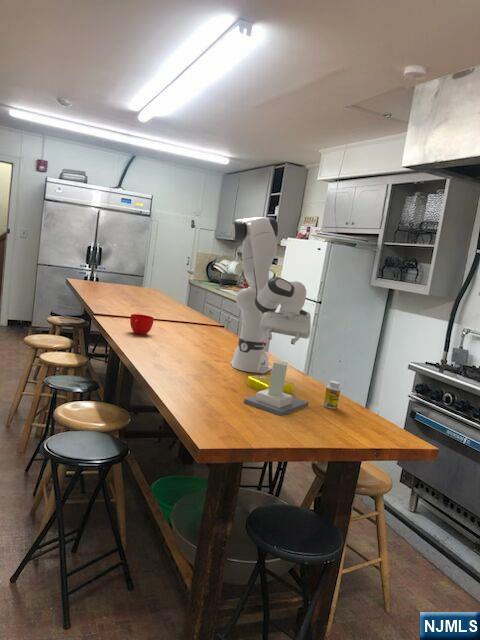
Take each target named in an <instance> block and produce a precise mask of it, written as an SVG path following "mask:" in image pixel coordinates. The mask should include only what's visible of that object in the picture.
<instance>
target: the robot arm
mask: <svg viewBox="0 0 480 640" xmlns="http://www.w3.org/2000/svg"><path fill="white" fill-rule="evenodd" d="M230 231H231V236H232V239H233V240H234V241H235V242H238V243H241V244H242V245H241V259H242V261H241V262H242V269H243V276H244V280H246V281H247V282H248V284H249V286H250V287H246V288H242V289H240V290H239V291H238V292H237V294H236V297H235V302H236V306H237V307H238V308H239V309H240V313H241V319H242V320H241V322H242V323H241V330H240V335H239V338H238V342H237V345H238V346H237V347H235V350H234V354H233V356H232V357H233V358H232V360H231V361H230V362H229V364H230V365H231V366H232V368H234V369H236V370H240V371H243V372H249V373H257V374H265V373H267V372H269V371H272V368H273V366H270V365H269V358H270V357H269V355H268V354H267V352H266V351H265V350H264V349H265V347H266V346H267V344H268V342H267V341H264V338H265V337H264V336H265V332H266V334H267V338H266V339H267V340H268V341H272V339H273V334H274V333H275V334H280V335H283V336H290V337H294V338H291V340H290V345H293V346H294V345H296V343H297V342H298V341H299V340H300V338H301V339H305V340H307V339H309V338H310V336H311V328H312V327H311V326H312V325H311V324H312V323H311V322H312V321H311V320H312V319H311V313H310V312H308V311H306V310H304V309H303V307H304V306H305V302H306V298H307V289H306V286H305V285H304V283H302V282H300V281H297V280H293V281H289V280H286V279H284V278H282V277H278V276H273V277H271V278H270V269H271V266H272V264H273V262H274V259H275V257H276V255H277V253H278V241H277V236H278V234H279V223H278V221H277V220H276V218H274V217H271V216H270V217H262V216H261V217H259V216H257V217H256V216H253V217H247V218H243V219H242V218H239V219H235V220H234V221H233V222H232V224H231V229H230ZM279 305H280V308H279V311H277V309H278V307H279ZM271 333H273V334H271Z"/></svg>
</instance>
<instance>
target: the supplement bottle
mask: <svg viewBox="0 0 480 640" xmlns="http://www.w3.org/2000/svg"><path fill="white" fill-rule="evenodd" d="M340 394H341V388H340V382H338V381H336V380H330V381H329V383H328V385H327V386H326V388H325V393H324V397H323V402H322V405H323V406H324V407H325V408H327V409H337V408H338V404H339V399H340Z"/></svg>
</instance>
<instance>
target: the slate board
mask: <svg viewBox="0 0 480 640" xmlns="http://www.w3.org/2000/svg"><path fill="white" fill-rule="evenodd" d="M268 390H269V389H266V390H262V391H257V392H256V394H255V395H253V396H250V397H246V398H244V400H243V403H244V404H247V405H249V406H252V407H255V408H258V409H260V410H264V411H267V412H269V413H272V414H275V415H277V416H281V417H283V416H285V415H288V414H291V413H293V412H296V411H298V410H300V409H302V408H306V407H308V406H309V401H306V400H303V399H301V398H298V397H294V396H293V394H291V395H289V394H286V393H283V392H282V396H281V397H278V396H274V395H269V394H268Z"/></svg>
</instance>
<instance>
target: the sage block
mask: <svg viewBox="0 0 480 640" xmlns="http://www.w3.org/2000/svg"><path fill="white" fill-rule="evenodd" d="M288 364H289V363H288V362H286V361H280V360H275V359H274V361H273V363H272V369H271V374H270V375H271V379H270V384H269V390H268V394H269V395H274V396H278V397H281V396H282V392H283V386H284V381H286V375H287V369H288Z"/></svg>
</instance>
